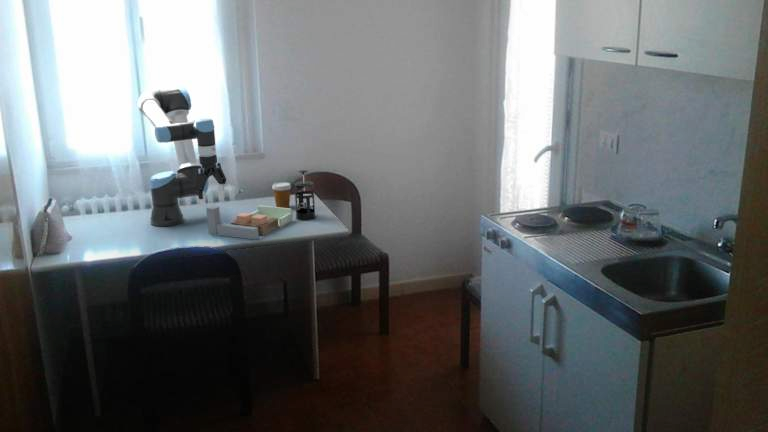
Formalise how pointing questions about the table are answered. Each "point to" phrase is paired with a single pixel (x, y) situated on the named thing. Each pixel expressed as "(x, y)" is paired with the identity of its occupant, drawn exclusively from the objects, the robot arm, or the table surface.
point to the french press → (304, 207)
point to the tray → (275, 214)
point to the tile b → (259, 219)
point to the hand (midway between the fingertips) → (212, 202)
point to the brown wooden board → (262, 229)
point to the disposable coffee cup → (282, 194)
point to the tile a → (244, 217)
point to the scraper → (228, 226)
